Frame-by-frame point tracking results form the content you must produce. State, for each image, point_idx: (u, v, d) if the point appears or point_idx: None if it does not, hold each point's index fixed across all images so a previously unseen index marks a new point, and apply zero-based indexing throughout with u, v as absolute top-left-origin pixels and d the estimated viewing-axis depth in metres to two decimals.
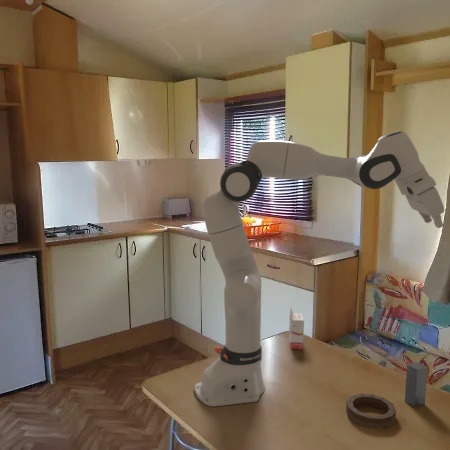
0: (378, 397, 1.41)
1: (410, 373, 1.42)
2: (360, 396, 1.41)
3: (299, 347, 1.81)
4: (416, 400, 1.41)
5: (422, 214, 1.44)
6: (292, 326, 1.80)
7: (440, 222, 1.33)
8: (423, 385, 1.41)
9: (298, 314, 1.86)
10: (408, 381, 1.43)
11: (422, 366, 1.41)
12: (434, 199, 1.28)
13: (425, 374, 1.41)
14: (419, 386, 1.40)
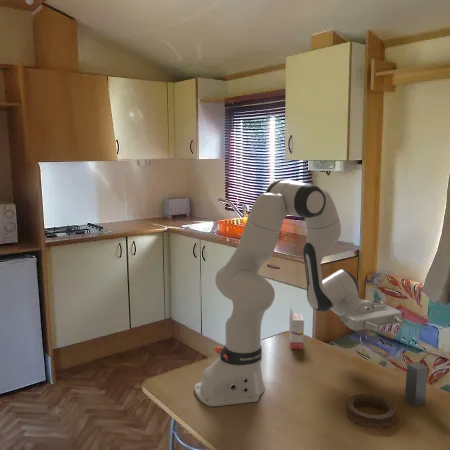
0: (378, 397, 1.41)
1: (410, 373, 1.42)
2: (360, 396, 1.41)
3: (299, 347, 1.81)
4: (416, 400, 1.41)
5: None
6: (292, 326, 1.80)
7: None
8: (423, 385, 1.41)
9: (298, 314, 1.86)
10: (408, 381, 1.43)
11: (422, 366, 1.41)
12: None
13: (425, 374, 1.41)
14: (419, 386, 1.40)
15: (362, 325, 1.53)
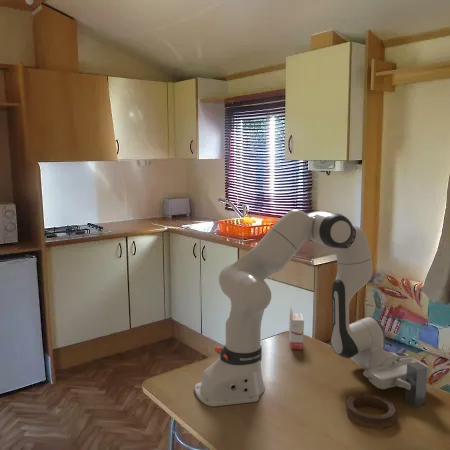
0: (378, 397, 1.41)
1: (410, 373, 1.42)
2: (360, 396, 1.41)
3: (299, 347, 1.81)
4: (416, 400, 1.41)
5: None
6: (292, 326, 1.80)
7: None
8: (423, 385, 1.41)
9: (298, 314, 1.86)
10: (408, 381, 1.43)
11: (422, 366, 1.41)
12: None
13: (425, 374, 1.41)
14: (419, 386, 1.40)
15: (388, 383, 1.43)
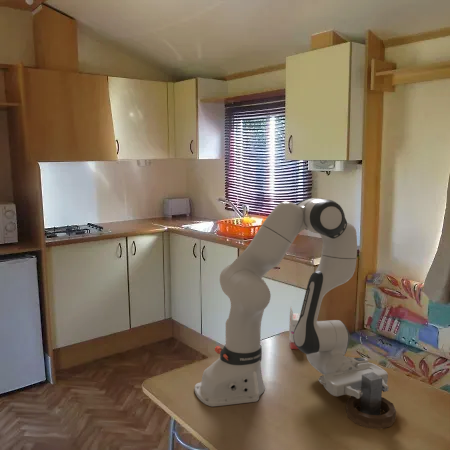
0: None
1: (365, 384, 1.35)
2: None
3: None
4: (371, 412, 1.34)
5: None
6: (292, 326, 1.80)
7: None
8: (378, 397, 1.34)
9: (298, 314, 1.86)
10: (363, 393, 1.36)
11: (377, 377, 1.35)
12: None
13: (380, 385, 1.34)
14: (373, 398, 1.34)
15: (343, 390, 1.36)
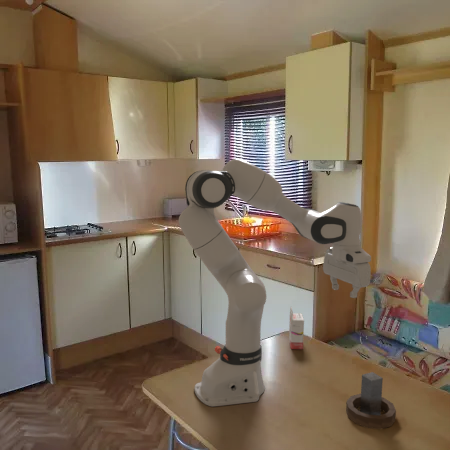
0: None
1: (365, 384, 1.35)
2: (360, 396, 1.41)
3: (299, 347, 1.81)
4: (371, 413, 1.34)
5: (333, 281, 1.60)
6: (292, 326, 1.80)
7: (356, 293, 1.51)
8: (378, 397, 1.34)
9: (298, 314, 1.86)
10: (363, 393, 1.36)
11: (377, 377, 1.34)
12: (367, 273, 1.46)
13: (380, 385, 1.34)
14: (373, 398, 1.34)
15: None
